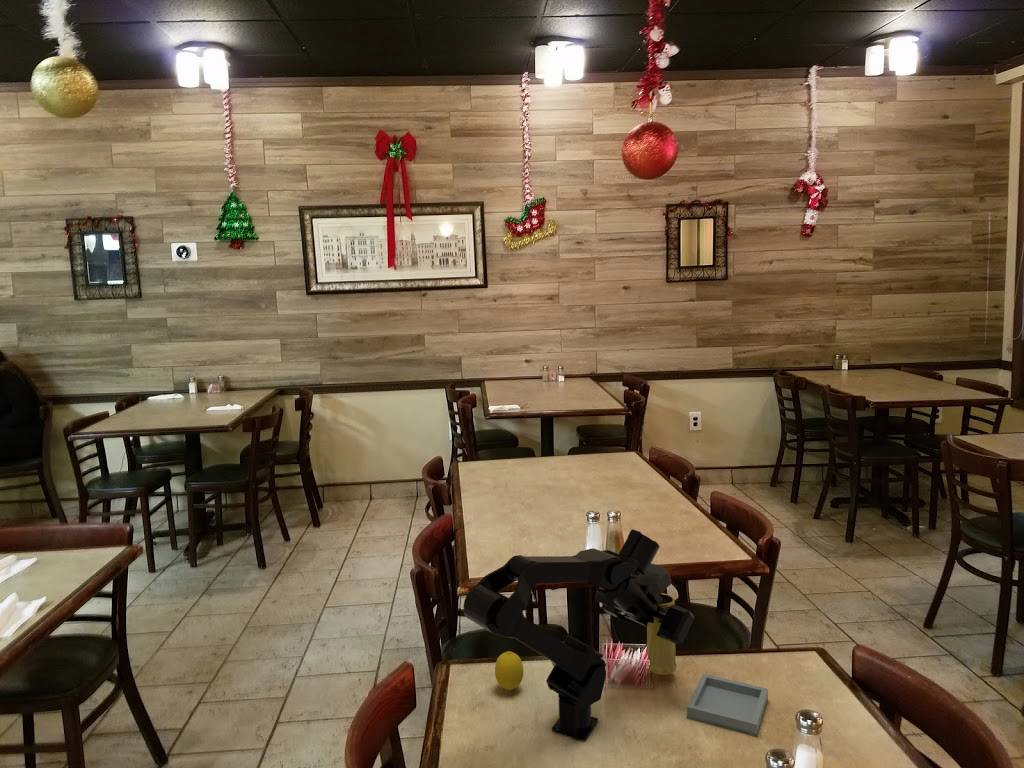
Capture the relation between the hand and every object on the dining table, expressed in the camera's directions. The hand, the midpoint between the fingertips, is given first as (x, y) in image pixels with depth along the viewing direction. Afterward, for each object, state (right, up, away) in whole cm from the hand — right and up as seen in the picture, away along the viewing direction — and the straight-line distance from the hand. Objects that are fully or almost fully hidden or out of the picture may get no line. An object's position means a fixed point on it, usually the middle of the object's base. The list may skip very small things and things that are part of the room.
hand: (665, 630), depth 138 cm
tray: (+9, -11, -11) cm, 18 cm away
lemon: (-31, -11, -2) cm, 33 cm away
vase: (-1, -7, 0) cm, 7 cm away
